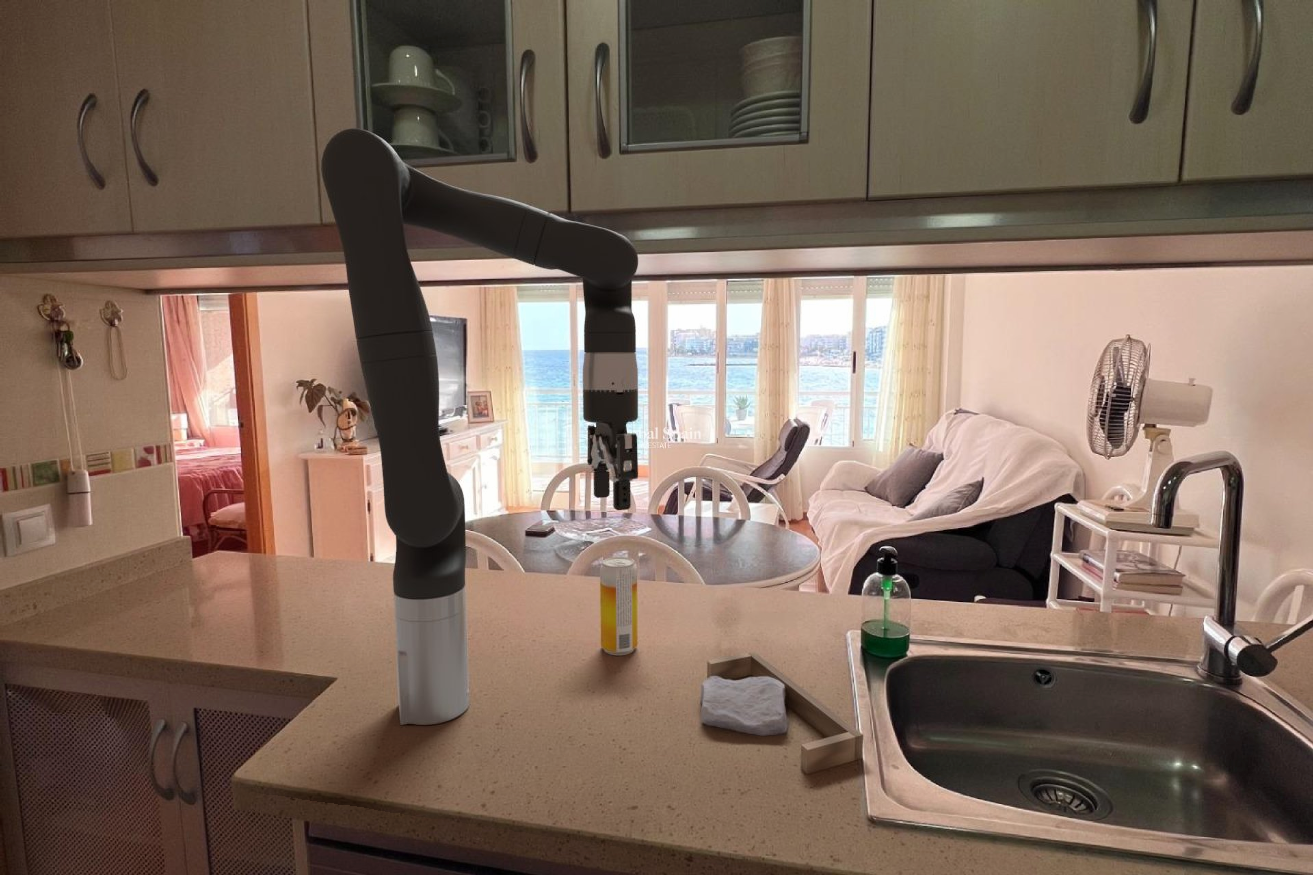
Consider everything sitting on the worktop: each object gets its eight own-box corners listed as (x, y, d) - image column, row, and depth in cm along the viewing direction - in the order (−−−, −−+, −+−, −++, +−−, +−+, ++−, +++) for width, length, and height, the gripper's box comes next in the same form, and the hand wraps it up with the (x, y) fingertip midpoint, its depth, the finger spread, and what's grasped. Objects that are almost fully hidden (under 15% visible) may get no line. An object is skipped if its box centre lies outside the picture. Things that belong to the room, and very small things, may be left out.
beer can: (627, 638, 116) (627, 554, 114) (643, 652, 111) (643, 563, 109) (595, 645, 113) (594, 559, 112) (610, 659, 108) (609, 569, 106)
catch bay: (806, 774, 78) (807, 749, 78) (707, 679, 101) (707, 660, 101) (862, 757, 81) (863, 734, 81) (753, 669, 104) (753, 651, 104)
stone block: (791, 750, 86) (784, 697, 96) (792, 720, 85) (784, 669, 94) (699, 748, 88) (700, 696, 97) (697, 718, 86) (699, 668, 95)
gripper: (569, 385, 97) (571, 495, 99) (600, 389, 84) (602, 516, 86) (618, 384, 100) (619, 491, 102) (656, 388, 87) (656, 511, 89)
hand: (611, 503), depth 94 cm, fingers open, 8 cm apart
